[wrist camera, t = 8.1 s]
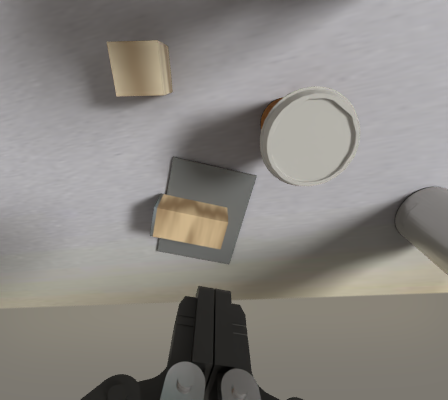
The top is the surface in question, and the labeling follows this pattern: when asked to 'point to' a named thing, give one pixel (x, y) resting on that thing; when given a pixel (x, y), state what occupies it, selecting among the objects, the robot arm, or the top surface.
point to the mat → (212, 194)
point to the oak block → (189, 221)
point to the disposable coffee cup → (309, 136)
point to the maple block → (140, 68)
